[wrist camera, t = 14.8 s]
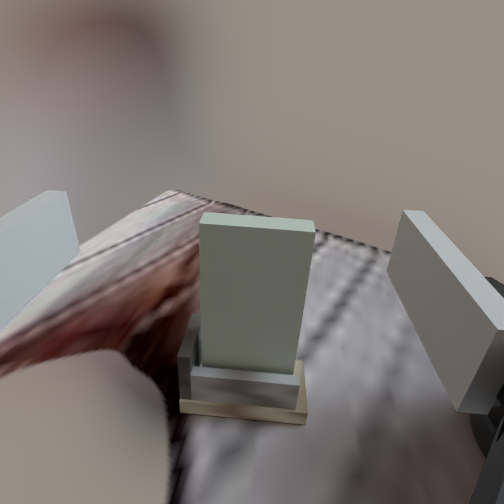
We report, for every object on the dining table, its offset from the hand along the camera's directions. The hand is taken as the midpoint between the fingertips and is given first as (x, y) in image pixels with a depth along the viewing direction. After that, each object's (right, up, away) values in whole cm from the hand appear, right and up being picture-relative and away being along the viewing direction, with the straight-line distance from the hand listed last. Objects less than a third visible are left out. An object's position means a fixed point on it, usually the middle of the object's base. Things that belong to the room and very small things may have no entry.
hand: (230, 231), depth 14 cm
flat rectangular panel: (0, -13, +18) cm, 22 cm away
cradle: (0, -14, +19) cm, 24 cm away
